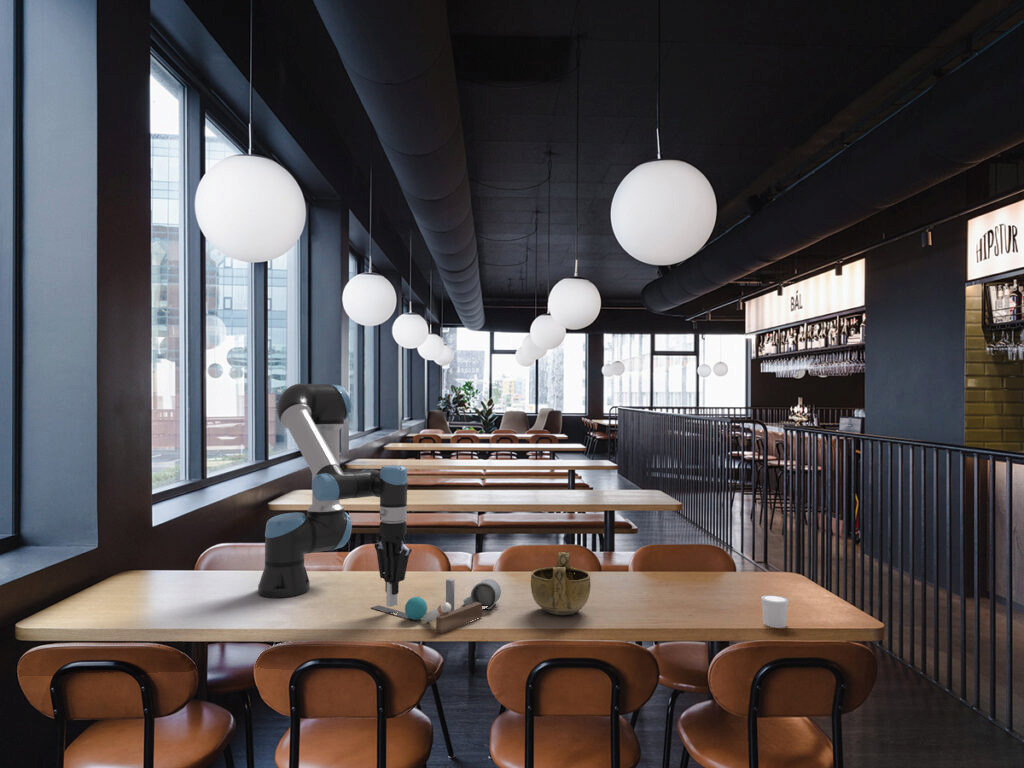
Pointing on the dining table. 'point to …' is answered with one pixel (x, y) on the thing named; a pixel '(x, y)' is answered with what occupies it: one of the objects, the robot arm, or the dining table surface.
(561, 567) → the ceramic bowl
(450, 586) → the grey pin
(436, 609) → the white pin
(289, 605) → the dining table surface
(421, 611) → the ball
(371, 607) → the grey flat bar
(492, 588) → the ceramic mug
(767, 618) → the white cup
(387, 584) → the robot arm
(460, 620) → the backstop
